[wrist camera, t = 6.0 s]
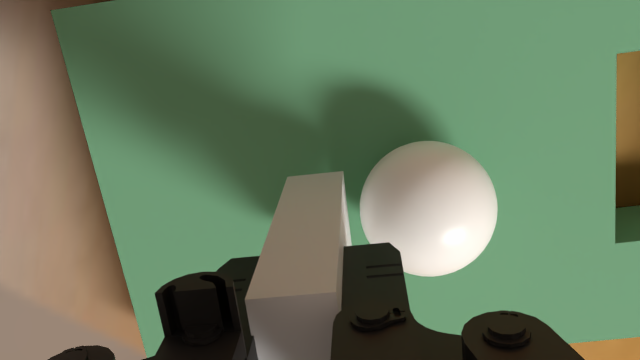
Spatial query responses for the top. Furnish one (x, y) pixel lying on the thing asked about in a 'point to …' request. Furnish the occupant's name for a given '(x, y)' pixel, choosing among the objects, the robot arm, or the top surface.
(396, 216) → the golf ball
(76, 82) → the putting board
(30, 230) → the top surface
